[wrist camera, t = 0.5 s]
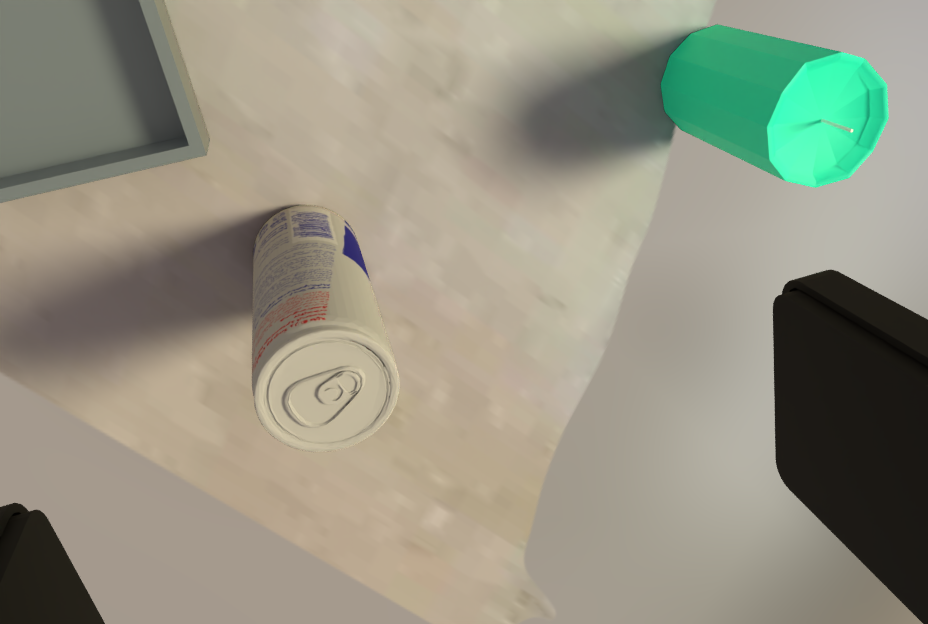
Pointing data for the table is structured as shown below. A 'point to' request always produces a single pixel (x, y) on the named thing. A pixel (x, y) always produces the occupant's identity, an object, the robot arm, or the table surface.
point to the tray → (91, 93)
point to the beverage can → (317, 334)
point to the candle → (776, 103)
